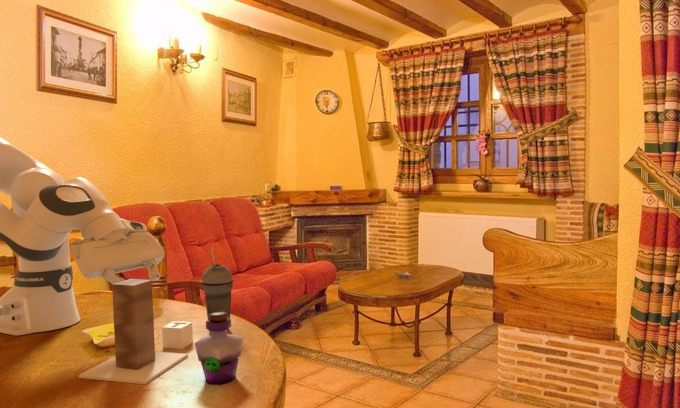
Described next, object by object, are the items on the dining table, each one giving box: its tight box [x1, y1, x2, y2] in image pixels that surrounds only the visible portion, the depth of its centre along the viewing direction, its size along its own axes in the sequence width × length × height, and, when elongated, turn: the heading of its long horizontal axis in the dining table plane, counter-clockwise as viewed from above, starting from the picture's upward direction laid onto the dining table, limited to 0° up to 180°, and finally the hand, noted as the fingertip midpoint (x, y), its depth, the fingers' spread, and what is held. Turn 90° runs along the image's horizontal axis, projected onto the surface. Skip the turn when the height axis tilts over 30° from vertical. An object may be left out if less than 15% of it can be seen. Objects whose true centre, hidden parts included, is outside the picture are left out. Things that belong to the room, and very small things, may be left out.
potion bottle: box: [194, 312, 244, 386], centre depth 92 cm, size 9×9×12 cm
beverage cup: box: [201, 245, 234, 331], centre depth 120 cm, size 7×7×20 cm
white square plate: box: [78, 350, 189, 385], centre depth 99 cm, size 14×14×1 cm
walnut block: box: [111, 278, 156, 370], centre depth 98 cm, size 5×5×16 cm
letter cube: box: [161, 320, 194, 350], centre depth 111 cm, size 4×4×5 cm
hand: (140, 282), depth 113 cm, fingers open, 8 cm apart
